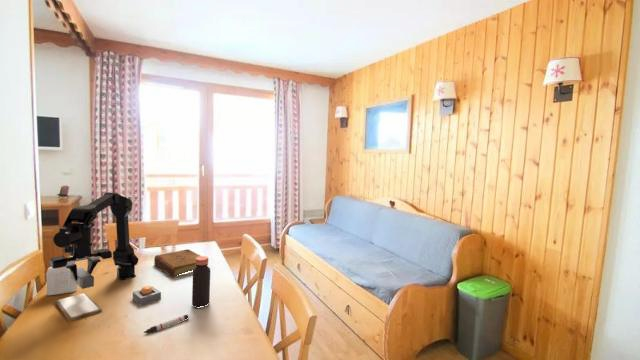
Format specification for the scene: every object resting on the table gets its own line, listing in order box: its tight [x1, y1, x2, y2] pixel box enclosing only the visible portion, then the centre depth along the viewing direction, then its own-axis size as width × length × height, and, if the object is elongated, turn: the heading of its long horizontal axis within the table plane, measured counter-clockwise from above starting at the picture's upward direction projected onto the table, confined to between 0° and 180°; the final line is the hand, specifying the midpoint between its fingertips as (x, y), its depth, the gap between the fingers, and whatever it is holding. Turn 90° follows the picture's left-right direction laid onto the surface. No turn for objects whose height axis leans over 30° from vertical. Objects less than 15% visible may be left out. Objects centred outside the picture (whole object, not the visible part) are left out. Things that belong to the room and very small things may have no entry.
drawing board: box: [54, 292, 103, 323], centre depth 122 cm, size 10×20×1 cm, turn 52°
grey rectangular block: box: [71, 267, 95, 290], centre depth 122 cm, size 4×14×4 cm, turn 52°
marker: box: [143, 314, 189, 334], centre depth 113 cm, size 15×2×2 cm, turn 138°
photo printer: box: [46, 266, 78, 296], centre depth 133 cm, size 10×4×12 cm, turn 123°
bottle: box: [191, 255, 211, 307], centre depth 129 cm, size 7×7×20 cm
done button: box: [140, 285, 152, 296], centre depth 131 cm, size 4×4×2 cm
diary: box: [154, 249, 201, 278], centre depth 169 cm, size 23×19×6 cm
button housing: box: [132, 286, 162, 306], centre depth 132 cm, size 8×8×3 cm
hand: (82, 279), depth 122 cm, fingers closed on grey rectangular block, 4 cm apart
